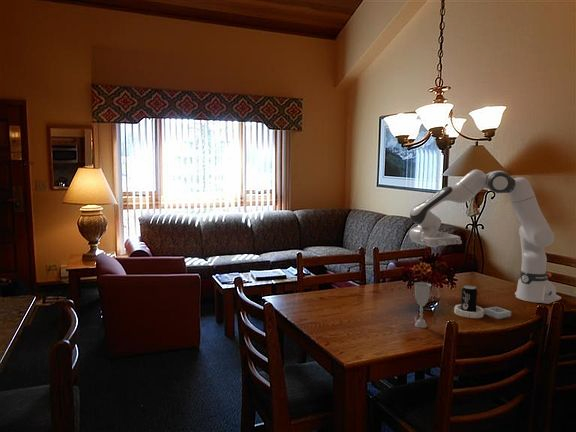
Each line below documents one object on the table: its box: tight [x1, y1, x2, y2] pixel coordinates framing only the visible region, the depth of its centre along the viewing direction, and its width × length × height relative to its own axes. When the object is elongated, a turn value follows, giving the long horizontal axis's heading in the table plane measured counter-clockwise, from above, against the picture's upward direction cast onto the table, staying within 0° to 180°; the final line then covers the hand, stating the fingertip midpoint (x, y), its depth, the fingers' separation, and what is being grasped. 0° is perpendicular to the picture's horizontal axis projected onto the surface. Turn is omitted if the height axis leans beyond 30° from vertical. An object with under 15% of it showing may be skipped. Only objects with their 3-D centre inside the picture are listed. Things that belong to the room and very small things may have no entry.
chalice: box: [413, 281, 432, 328], centre depth 188 cm, size 7×7×18 cm
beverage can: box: [460, 284, 478, 312], centre depth 204 cm, size 7×7×12 cm
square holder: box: [483, 305, 512, 320], centre depth 202 cm, size 8×8×2 cm
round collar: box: [453, 303, 485, 319], centre depth 204 cm, size 12×12×2 cm
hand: (453, 242), depth 219 cm, fingers open, 8 cm apart
